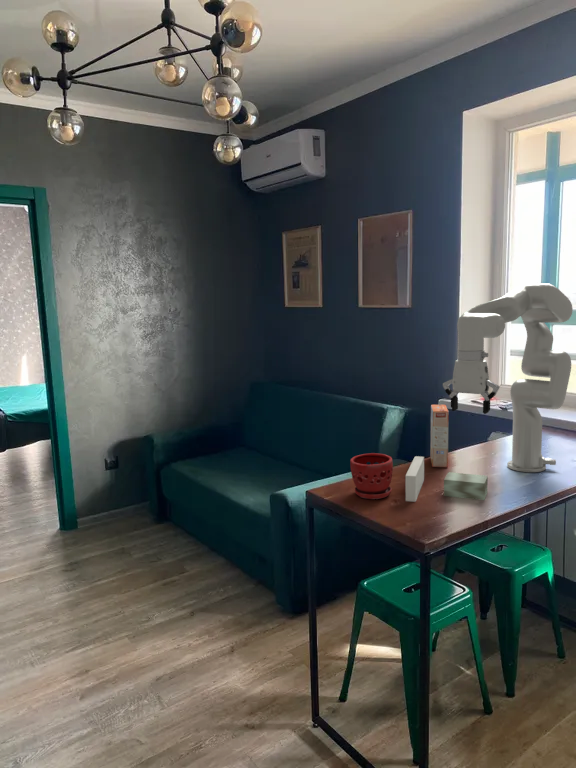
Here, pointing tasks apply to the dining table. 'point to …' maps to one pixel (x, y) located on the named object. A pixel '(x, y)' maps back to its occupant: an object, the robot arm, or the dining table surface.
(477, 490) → the block
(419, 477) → the board
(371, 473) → the plant pot
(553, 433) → the dining table surface
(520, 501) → the dining table surface
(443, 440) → the cracker box
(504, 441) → the dining table surface
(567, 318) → the robot arm
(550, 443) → the dining table surface
